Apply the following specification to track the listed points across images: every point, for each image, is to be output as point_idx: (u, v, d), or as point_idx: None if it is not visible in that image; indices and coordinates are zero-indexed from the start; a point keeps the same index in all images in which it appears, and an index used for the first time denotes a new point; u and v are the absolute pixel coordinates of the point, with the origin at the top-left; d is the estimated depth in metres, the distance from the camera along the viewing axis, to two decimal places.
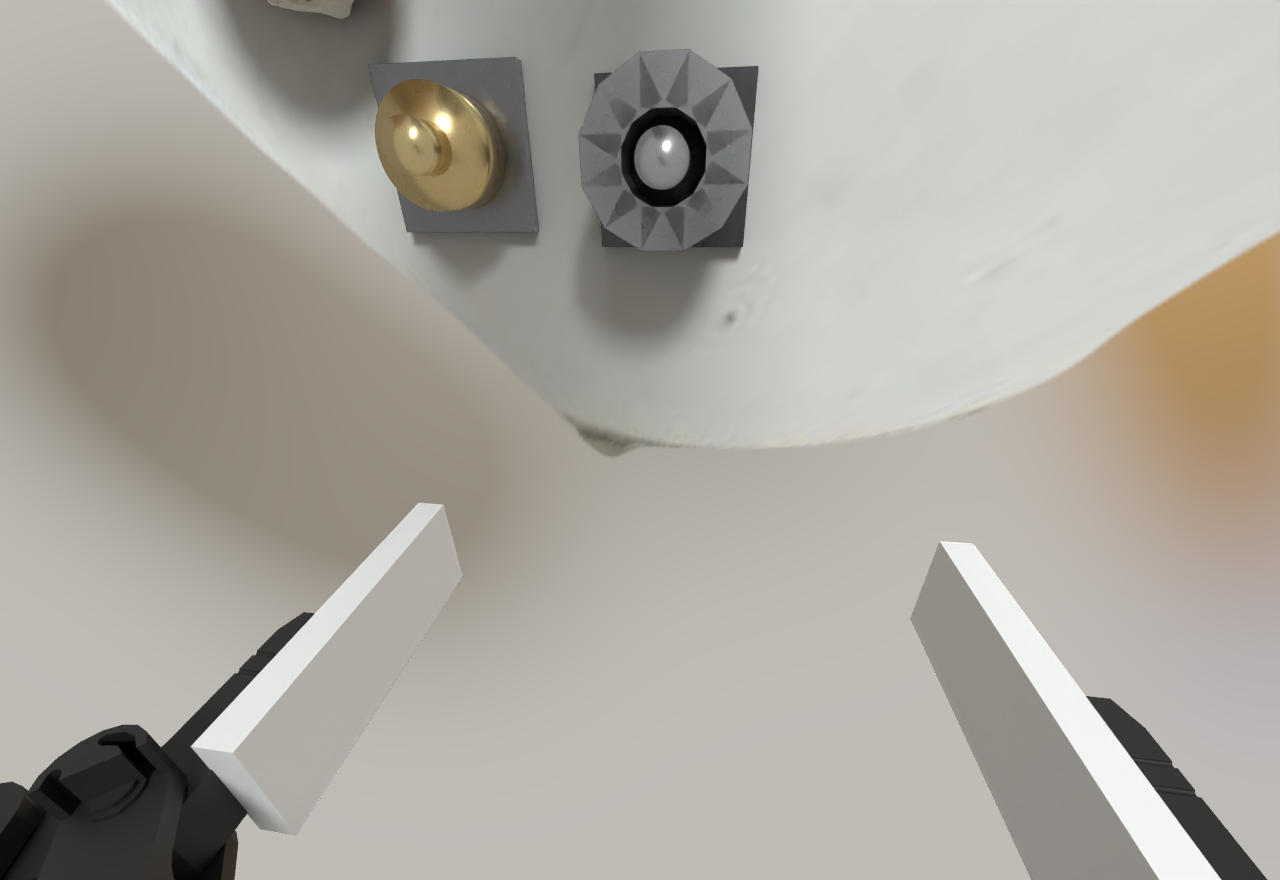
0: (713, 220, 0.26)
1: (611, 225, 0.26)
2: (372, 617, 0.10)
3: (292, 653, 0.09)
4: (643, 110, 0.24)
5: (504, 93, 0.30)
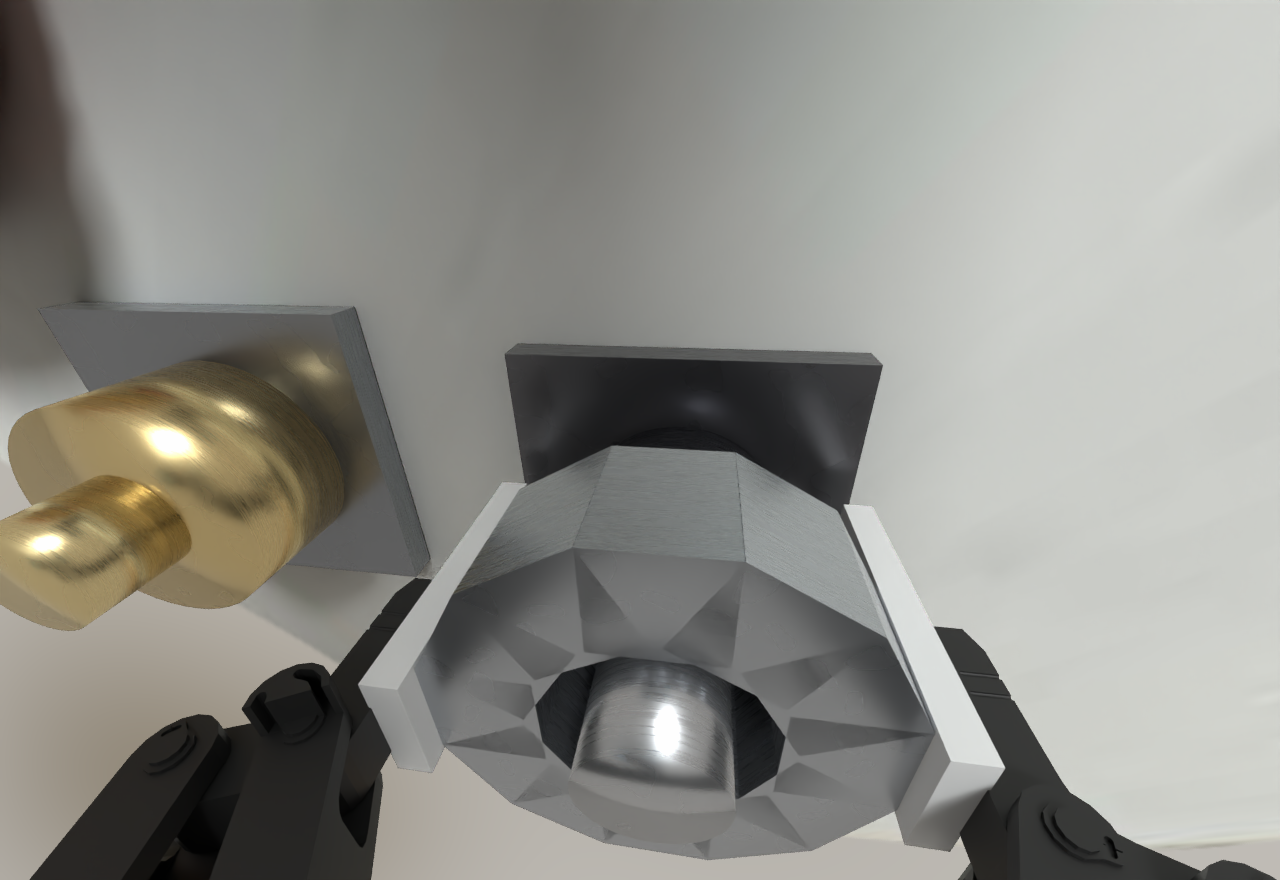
0: (790, 839, 0.10)
1: (527, 803, 0.10)
2: None
3: (425, 609, 0.10)
4: (594, 657, 0.08)
5: (321, 374, 0.14)
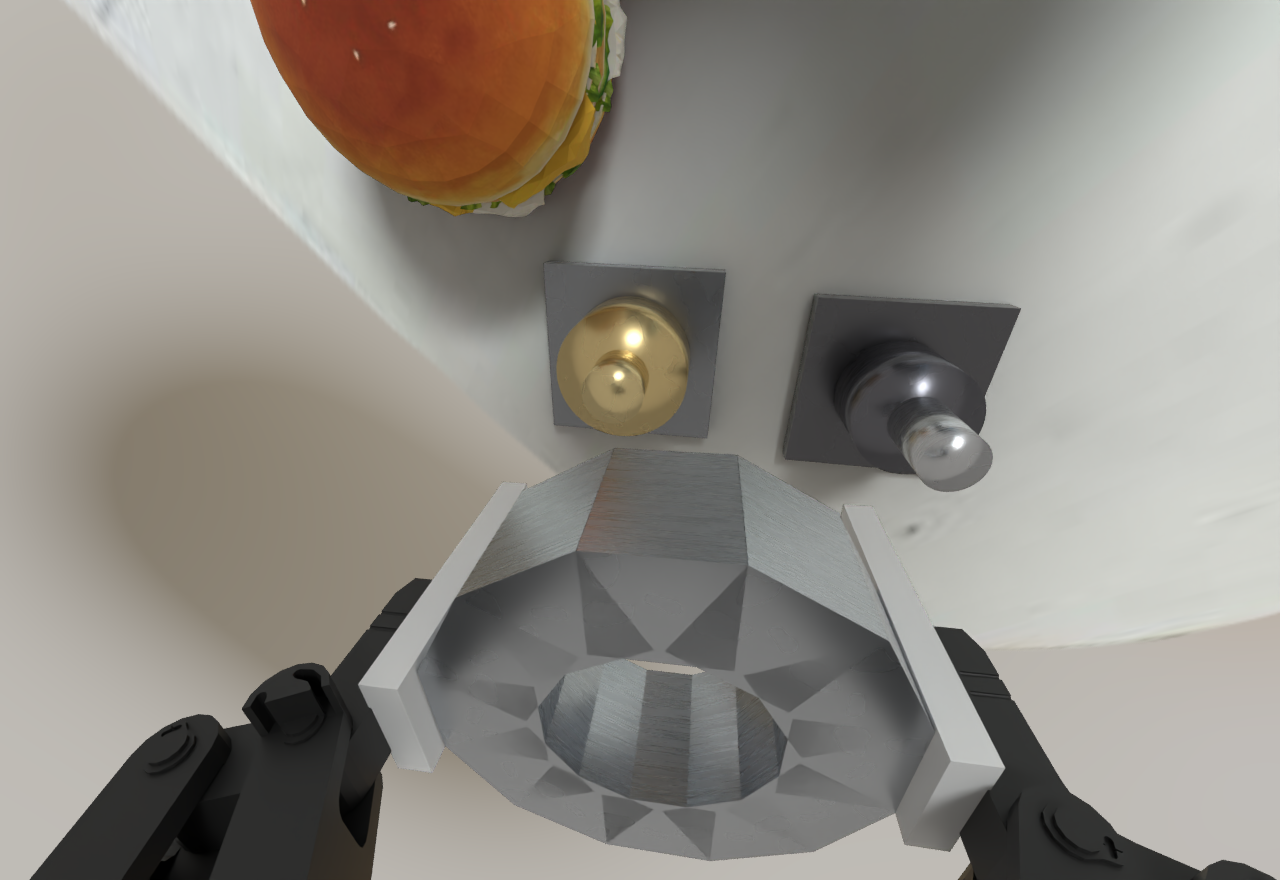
0: (792, 840, 0.10)
1: (529, 804, 0.10)
2: None
3: (425, 609, 0.10)
4: (597, 659, 0.08)
5: (704, 306, 0.26)
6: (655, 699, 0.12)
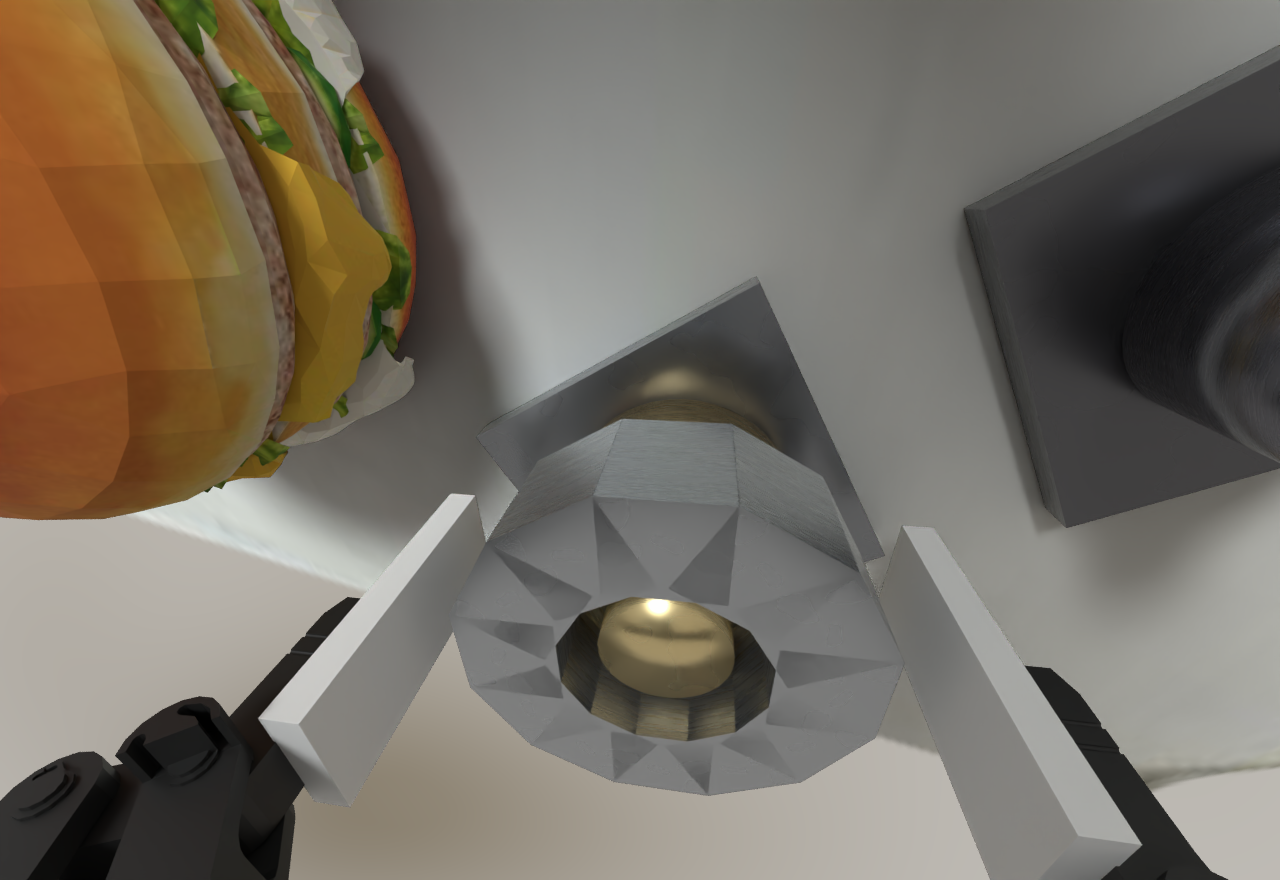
0: (781, 771, 0.11)
1: (544, 744, 0.12)
2: (414, 601, 0.11)
3: (344, 633, 0.09)
4: (609, 598, 0.09)
5: (754, 359, 0.13)
6: None
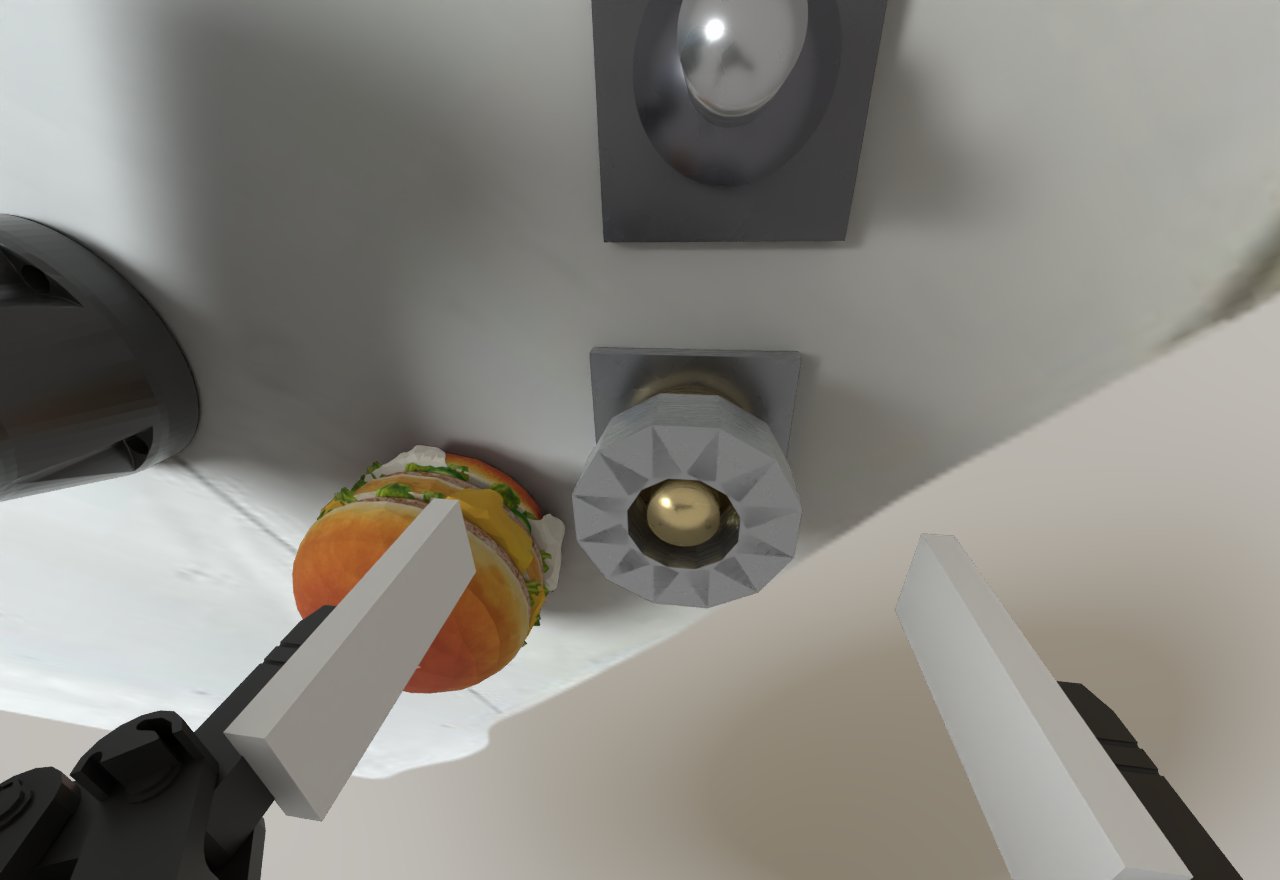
0: (786, 513, 0.18)
1: (709, 602, 0.20)
2: (392, 609, 0.10)
3: (317, 643, 0.09)
4: (624, 518, 0.19)
5: (626, 373, 0.23)
6: (724, 522, 0.21)
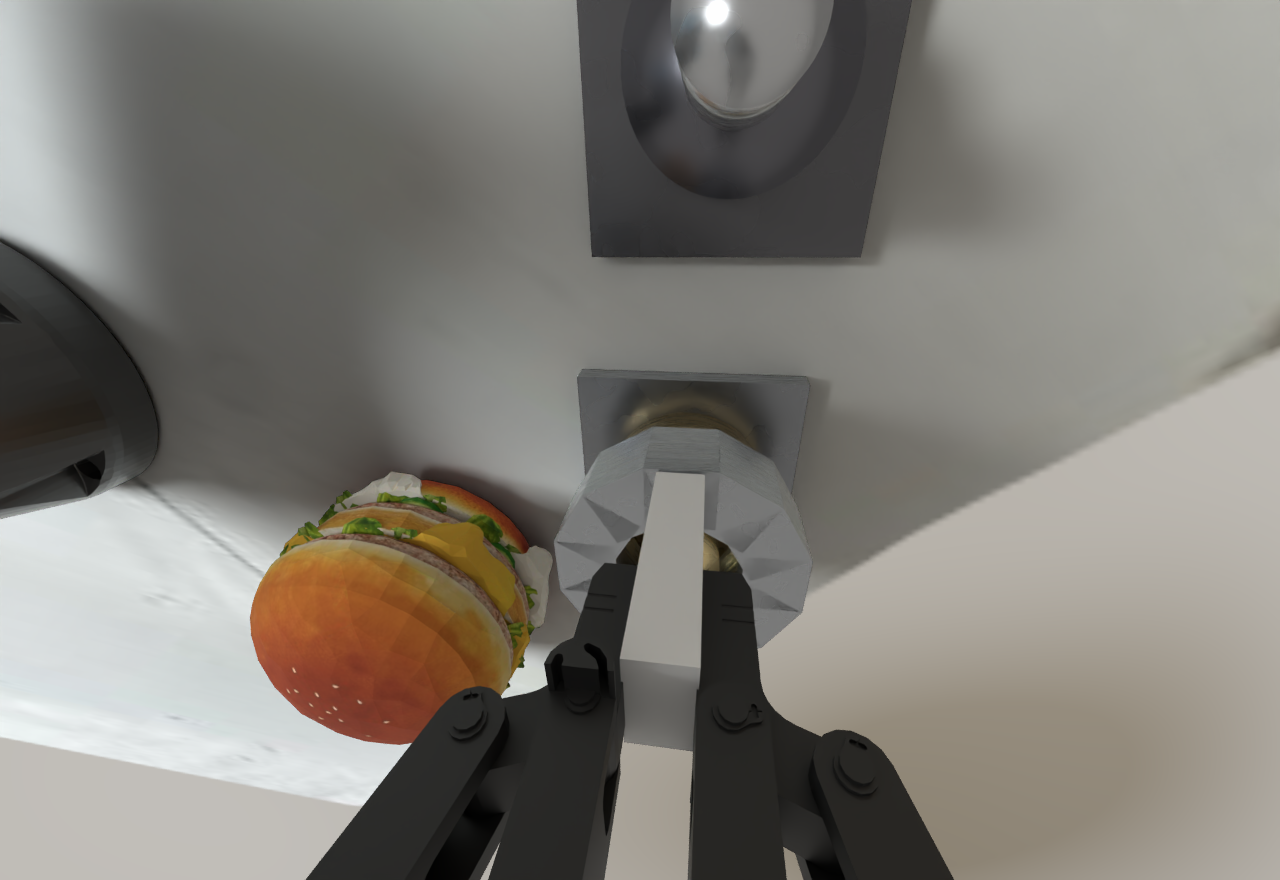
0: (795, 565, 0.16)
1: None
2: None
3: (646, 590, 0.10)
4: None
5: (618, 398, 0.21)
6: (724, 566, 0.19)
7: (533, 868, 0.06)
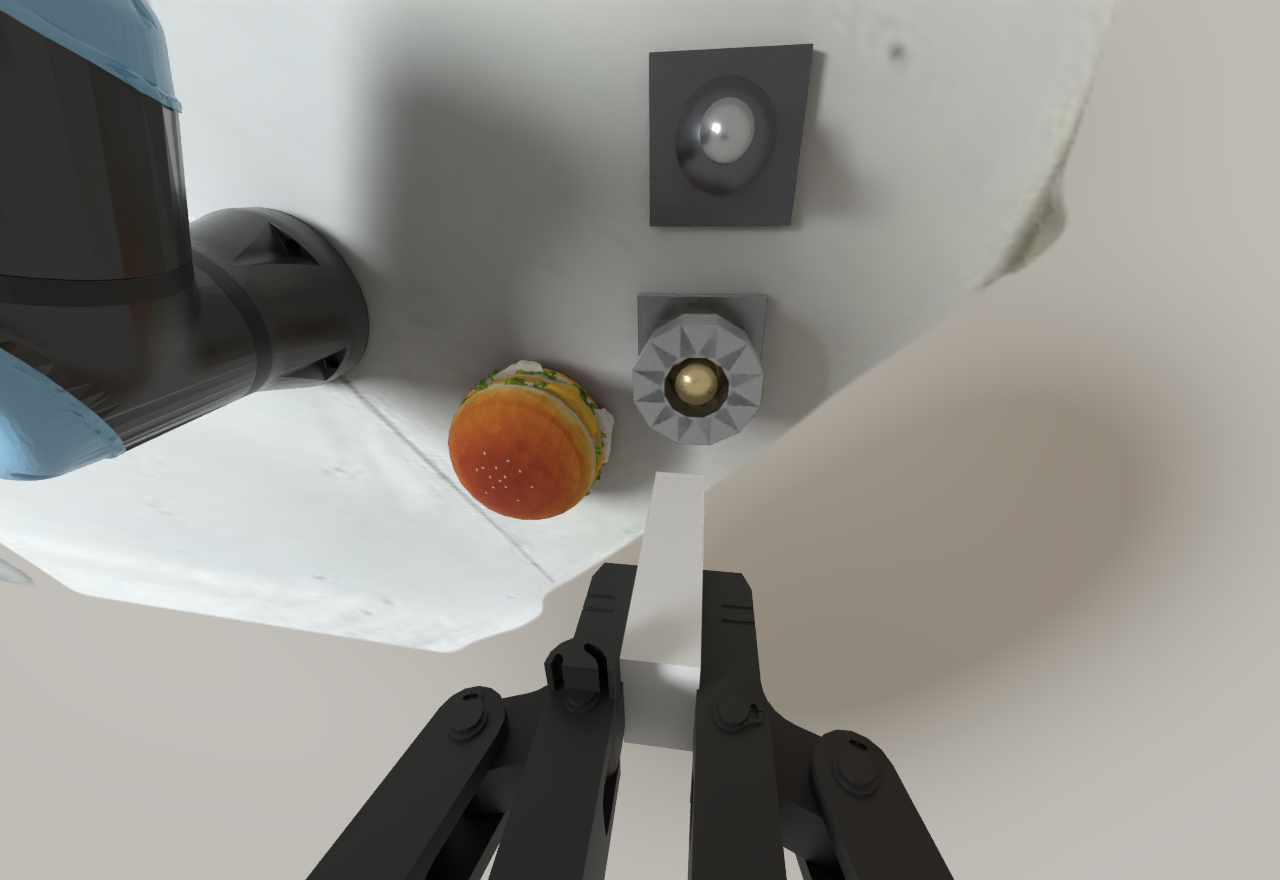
0: (754, 377, 0.32)
1: (711, 440, 0.34)
2: None
3: (646, 590, 0.10)
4: (662, 384, 0.33)
5: (660, 308, 0.37)
6: (720, 395, 0.35)
7: (533, 868, 0.06)
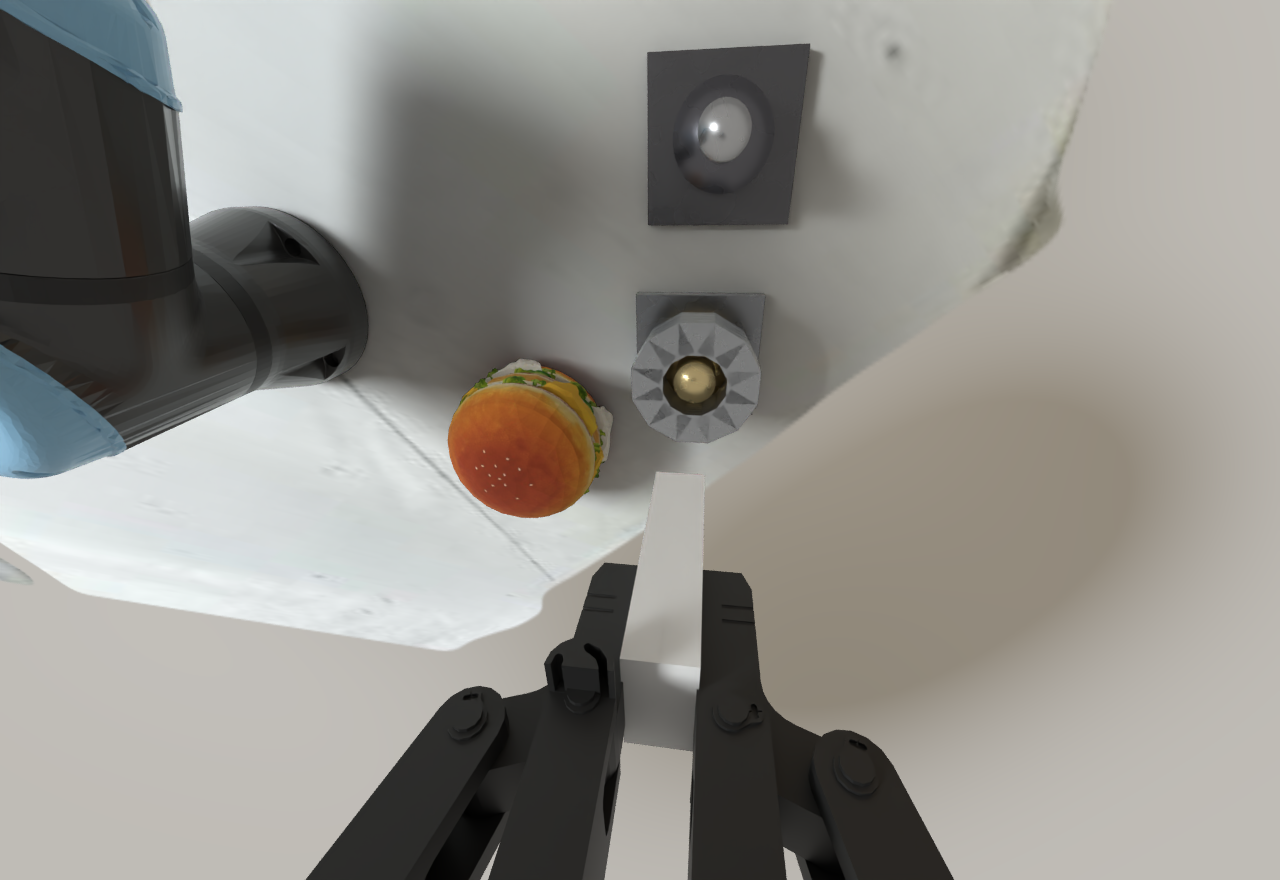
0: (752, 375, 0.32)
1: (709, 438, 0.35)
2: None
3: (646, 590, 0.10)
4: (661, 382, 0.33)
5: (658, 307, 0.37)
6: (718, 393, 0.35)
7: (533, 868, 0.06)
